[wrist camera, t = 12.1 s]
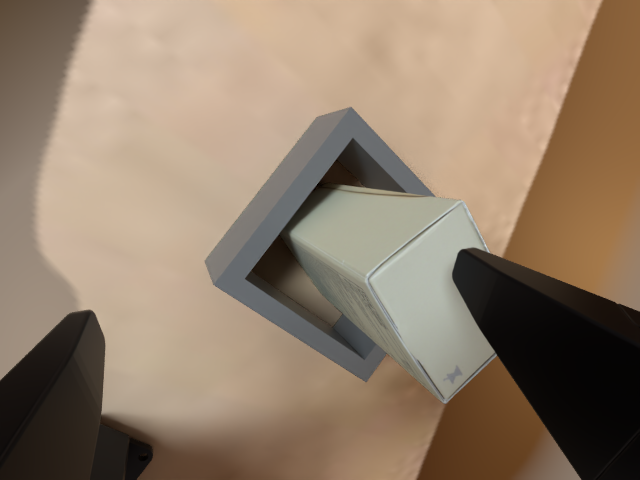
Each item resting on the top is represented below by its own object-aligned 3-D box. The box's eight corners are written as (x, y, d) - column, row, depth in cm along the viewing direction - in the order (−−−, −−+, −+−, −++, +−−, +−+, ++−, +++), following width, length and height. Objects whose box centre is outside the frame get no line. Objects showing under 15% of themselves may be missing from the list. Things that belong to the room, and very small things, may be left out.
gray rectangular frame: (334, 346, 25) (366, 382, 21) (204, 260, 21) (213, 284, 17) (424, 223, 26) (471, 235, 22) (316, 116, 22) (351, 106, 18)
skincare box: (371, 256, 25) (531, 330, 14) (320, 298, 24) (446, 412, 13) (323, 178, 23) (470, 193, 12) (265, 221, 22) (363, 281, 11)
